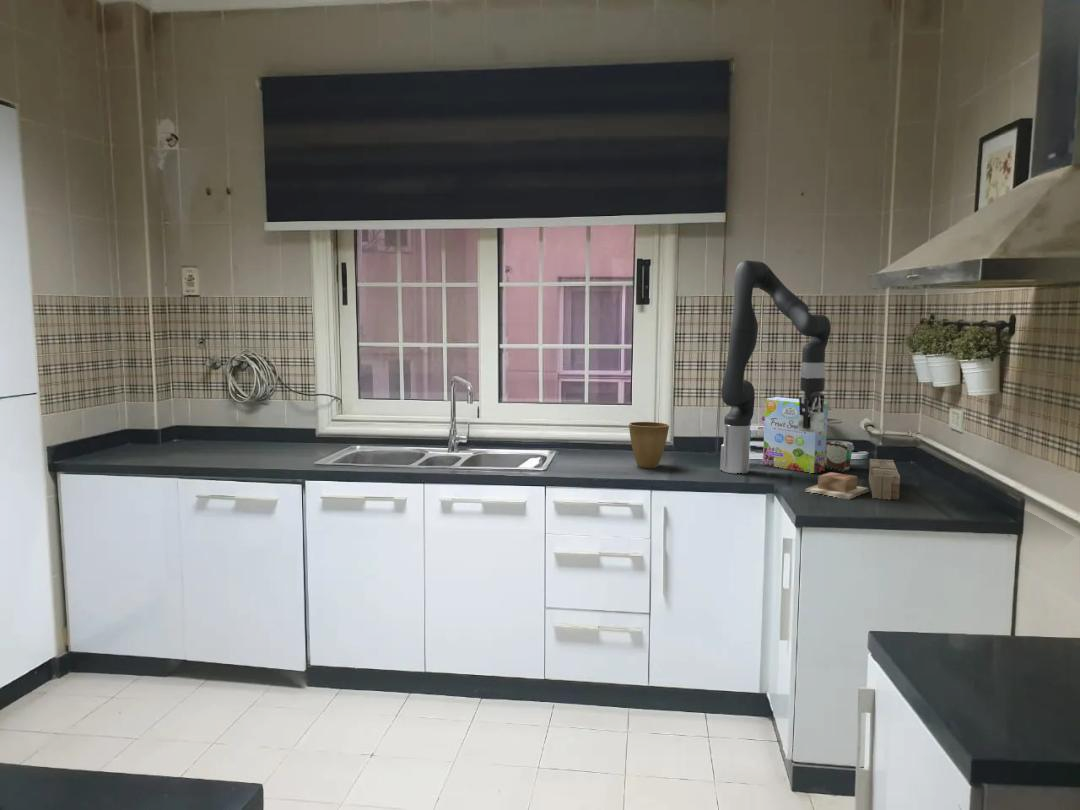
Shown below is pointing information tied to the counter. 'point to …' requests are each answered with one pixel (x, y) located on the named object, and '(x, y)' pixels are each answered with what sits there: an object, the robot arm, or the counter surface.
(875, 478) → the block tower
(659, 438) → the plant pot
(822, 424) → the sage cube
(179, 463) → the counter surface
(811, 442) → the snack box
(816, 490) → the base board
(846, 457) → the food container
